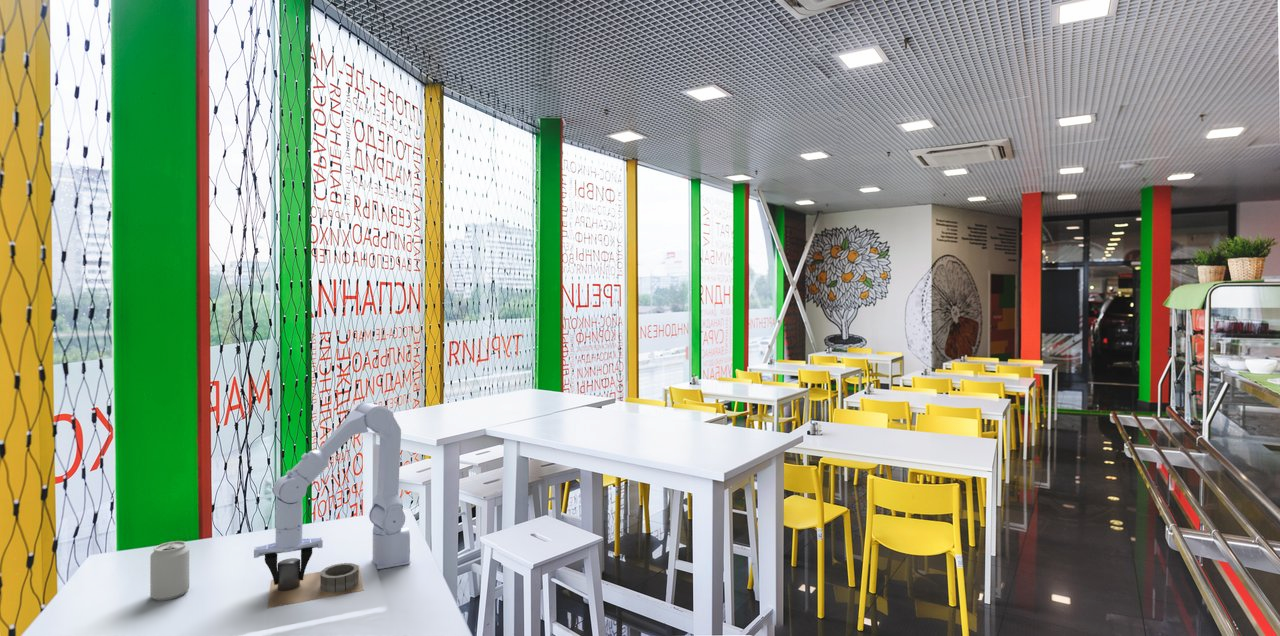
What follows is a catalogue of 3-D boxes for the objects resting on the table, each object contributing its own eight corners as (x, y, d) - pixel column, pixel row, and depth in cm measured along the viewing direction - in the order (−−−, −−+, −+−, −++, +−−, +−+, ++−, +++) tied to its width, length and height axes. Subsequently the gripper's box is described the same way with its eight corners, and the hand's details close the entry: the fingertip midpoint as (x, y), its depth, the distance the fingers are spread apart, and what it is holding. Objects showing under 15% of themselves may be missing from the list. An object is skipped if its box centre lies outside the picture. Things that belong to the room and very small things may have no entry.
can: (146, 604, 143) (146, 553, 143) (154, 591, 150) (154, 542, 149) (186, 598, 146) (186, 548, 146) (192, 585, 153) (192, 537, 153)
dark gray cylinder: (300, 580, 154) (300, 556, 154) (299, 588, 150) (300, 564, 150) (278, 584, 152) (278, 560, 152) (277, 592, 148) (277, 567, 147)
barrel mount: (358, 568, 164) (359, 552, 164) (363, 594, 150) (363, 575, 150) (271, 583, 154) (271, 566, 154) (267, 612, 140) (267, 592, 140)
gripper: (252, 536, 144) (252, 593, 144) (322, 526, 150) (322, 581, 151) (255, 526, 150) (255, 581, 150) (322, 517, 157) (322, 570, 157)
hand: (288, 580), depth 151 cm, fingers closed on dark gray cylinder, 5 cm apart
